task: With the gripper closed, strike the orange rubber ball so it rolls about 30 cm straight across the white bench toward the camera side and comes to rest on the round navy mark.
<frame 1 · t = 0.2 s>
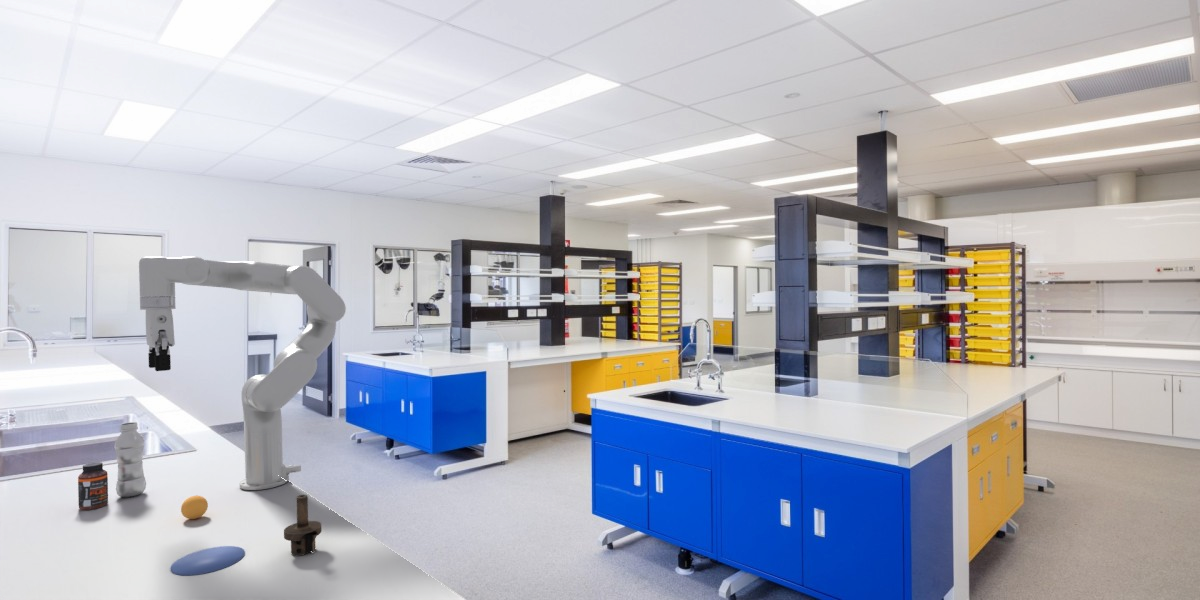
hand: (159, 368, 159), 36 cm above the countertop, tool pointing down, fingers open, 9 cm apart
ball: (194, 507, 149), on the countertop
supplement bottle: (93, 507, 158), on the countertop
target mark: (208, 560, 126), on the countertop
industrial component: (302, 551, 130), on the countertop
plastic bottle: (131, 496, 167), on the countertop
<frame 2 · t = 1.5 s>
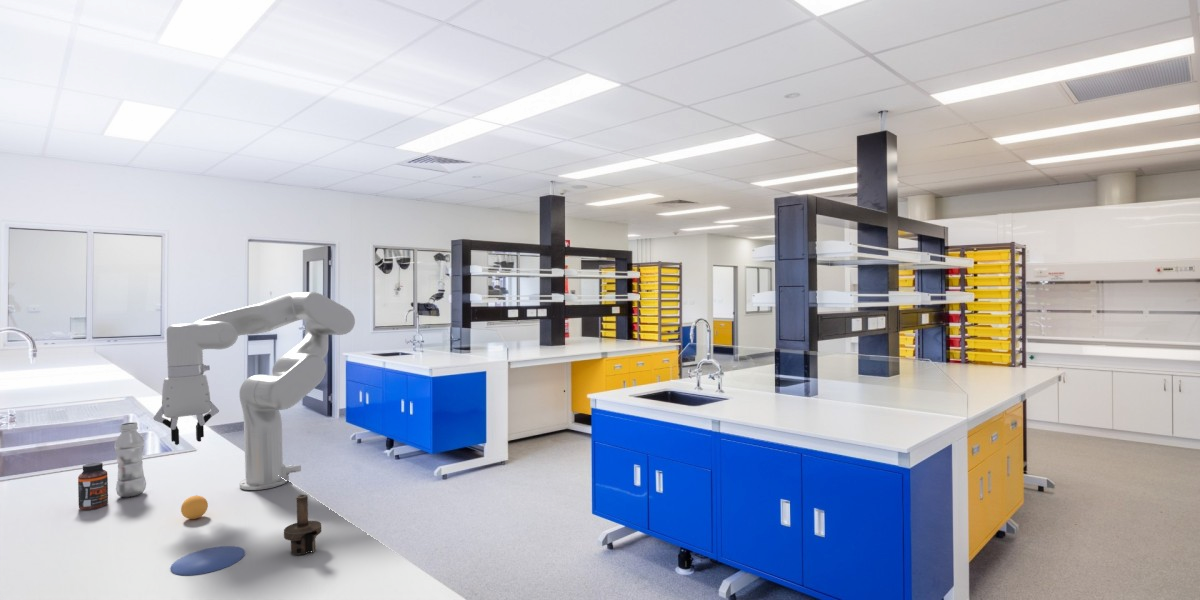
hand: (187, 441, 156), 17 cm above the countertop, tool pointing down, fingers open, 4 cm apart
nothing on the countertop moved.
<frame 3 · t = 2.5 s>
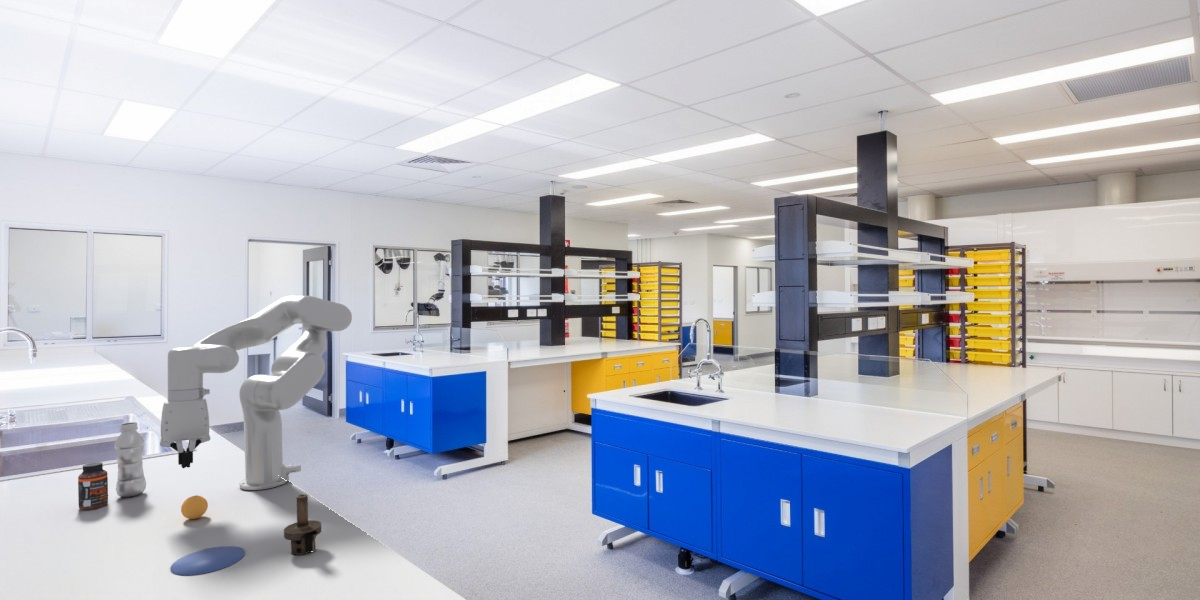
hand: (185, 466, 156), 11 cm above the countertop, tool pointing down, fingers closed
nothing on the countertop moved.
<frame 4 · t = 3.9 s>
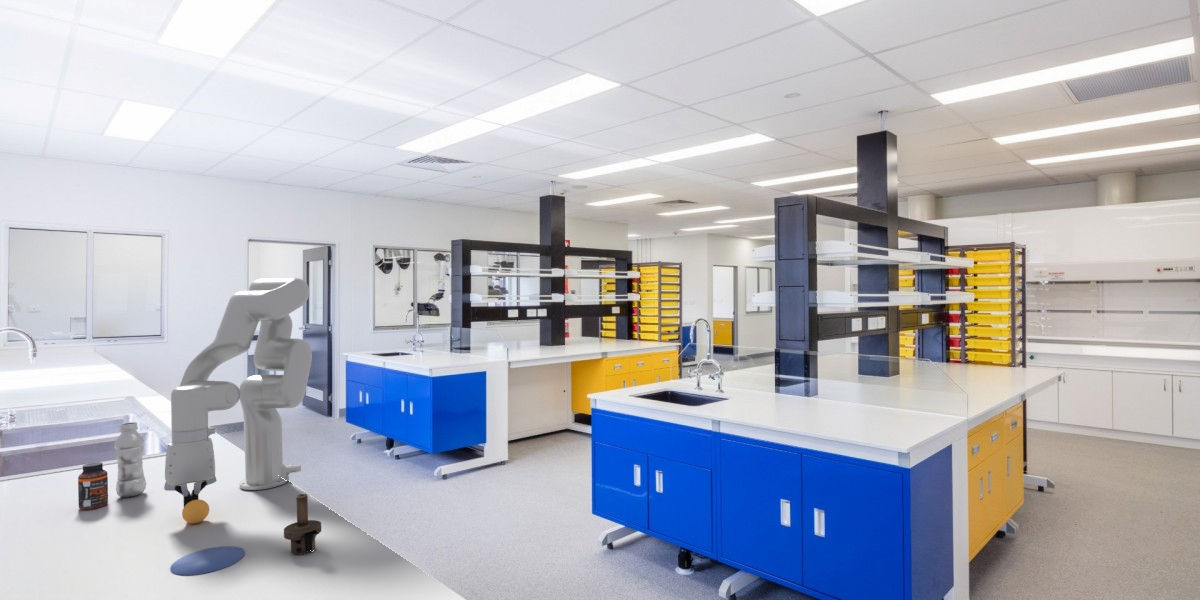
hand: (191, 510, 149), 2 cm above the countertop, tool pointing down, fingers closed
ball: (195, 511, 146), on the countertop
everything else where it was.
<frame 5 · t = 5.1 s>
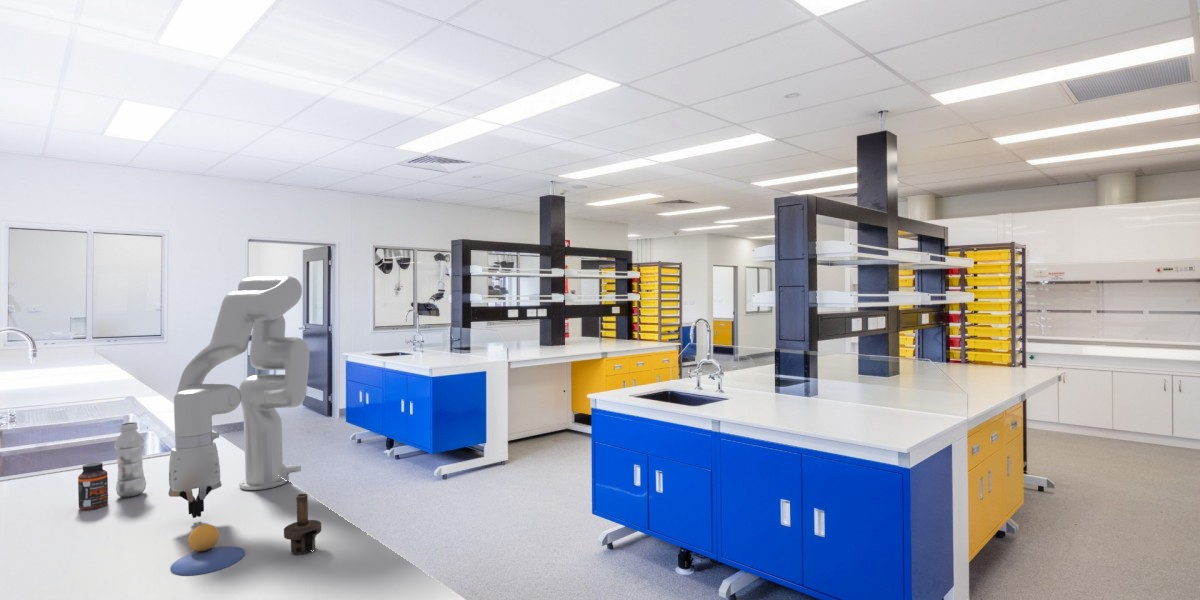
hand: (196, 515, 147), 2 cm above the countertop, tool pointing down, fingers closed
ball: (203, 537, 131), on the countertop
everything else where it was.
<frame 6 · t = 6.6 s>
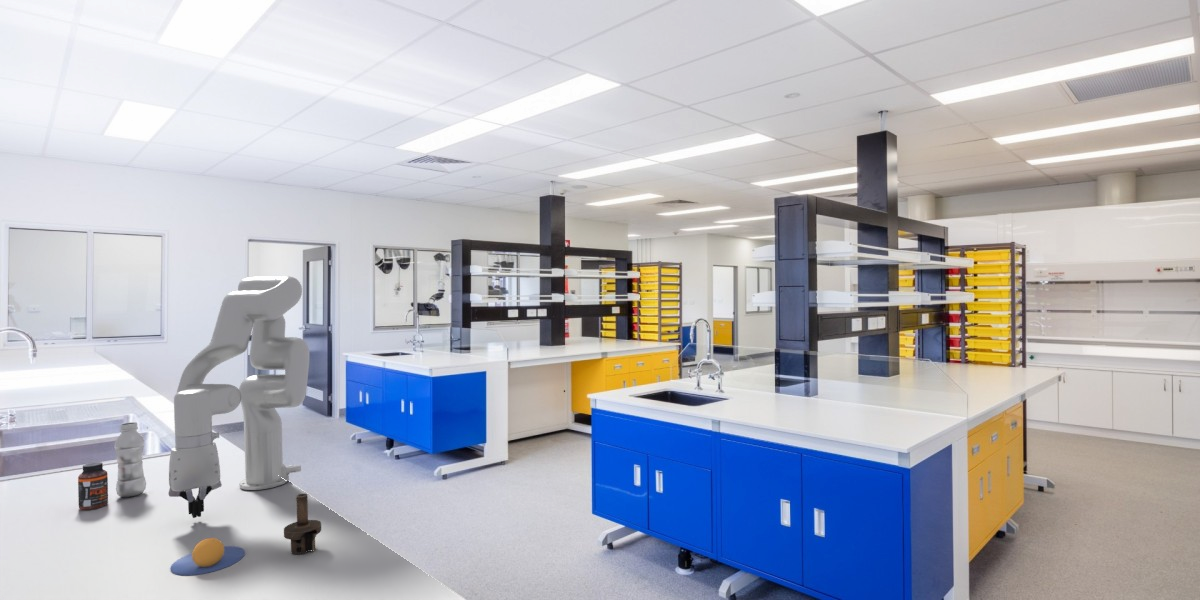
hand: (196, 515, 147), 2 cm above the countertop, tool pointing down, fingers closed
ball: (208, 552, 123), on the countertop
everything else where it was.
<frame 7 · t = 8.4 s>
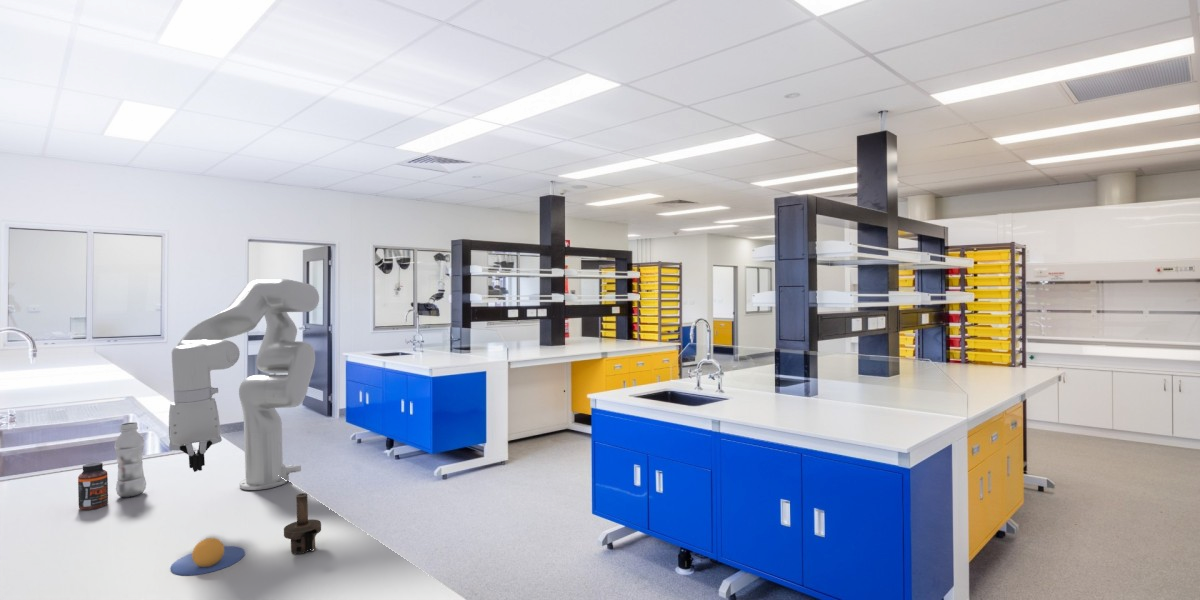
hand: (197, 469, 148), 13 cm above the countertop, tool pointing down, fingers closed
nothing on the countertop moved.
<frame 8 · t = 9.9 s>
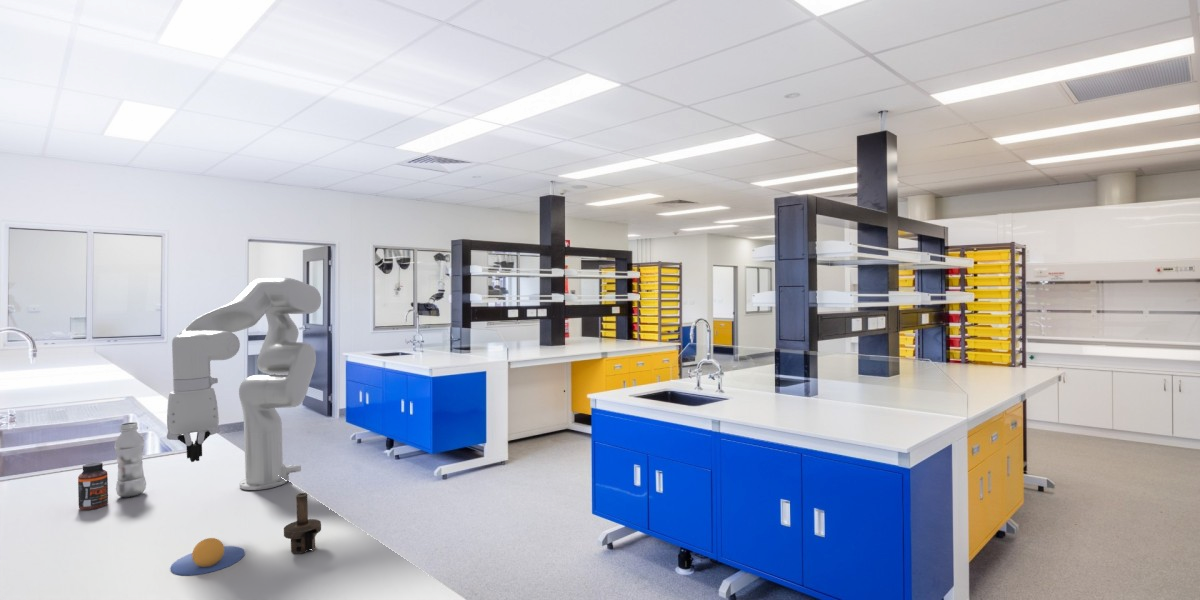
hand: (194, 460, 147), 15 cm above the countertop, tool pointing down, fingers closed
at the end: ball 2.9 cm from the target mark (horizontally); ball at rest at the end (0.0 cm/s); ball moved 32.9 cm from its start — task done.
